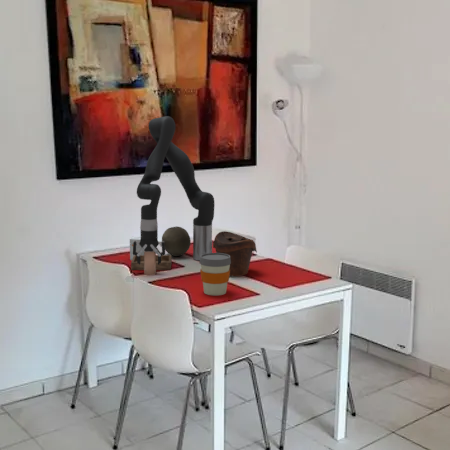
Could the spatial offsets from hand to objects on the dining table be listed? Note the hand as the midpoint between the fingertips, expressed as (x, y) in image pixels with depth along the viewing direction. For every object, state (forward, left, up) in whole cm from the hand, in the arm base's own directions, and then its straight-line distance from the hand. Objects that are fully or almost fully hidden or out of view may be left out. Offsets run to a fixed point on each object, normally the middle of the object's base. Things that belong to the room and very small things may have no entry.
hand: (149, 264), depth 279 cm
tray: (0, -13, -4) cm, 14 cm away
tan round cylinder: (0, 0, -4) cm, 4 cm away
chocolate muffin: (-38, -1, -5) cm, 39 cm away
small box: (+7, -27, -5) cm, 28 cm away
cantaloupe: (-11, -32, -5) cm, 34 cm away
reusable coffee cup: (-28, +29, -5) cm, 41 cm away
